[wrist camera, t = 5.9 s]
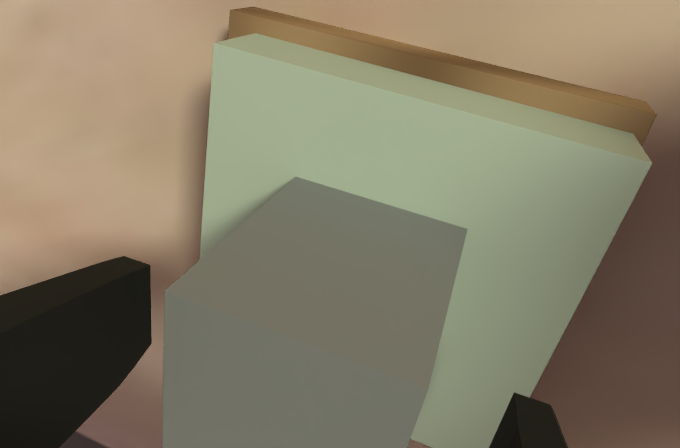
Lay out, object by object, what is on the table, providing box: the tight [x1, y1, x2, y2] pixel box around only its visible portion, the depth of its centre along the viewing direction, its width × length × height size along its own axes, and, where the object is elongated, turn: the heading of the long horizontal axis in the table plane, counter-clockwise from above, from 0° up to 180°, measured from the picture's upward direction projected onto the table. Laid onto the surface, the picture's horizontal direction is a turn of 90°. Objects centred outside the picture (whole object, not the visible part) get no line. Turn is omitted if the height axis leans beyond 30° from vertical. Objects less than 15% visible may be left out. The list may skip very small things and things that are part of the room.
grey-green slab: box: [199, 33, 652, 448], centre depth 13 cm, size 9×9×2 cm
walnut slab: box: [228, 7, 657, 146], centre depth 15 cm, size 10×10×2 cm
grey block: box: [162, 177, 467, 448], centre depth 10 cm, size 4×4×5 cm
